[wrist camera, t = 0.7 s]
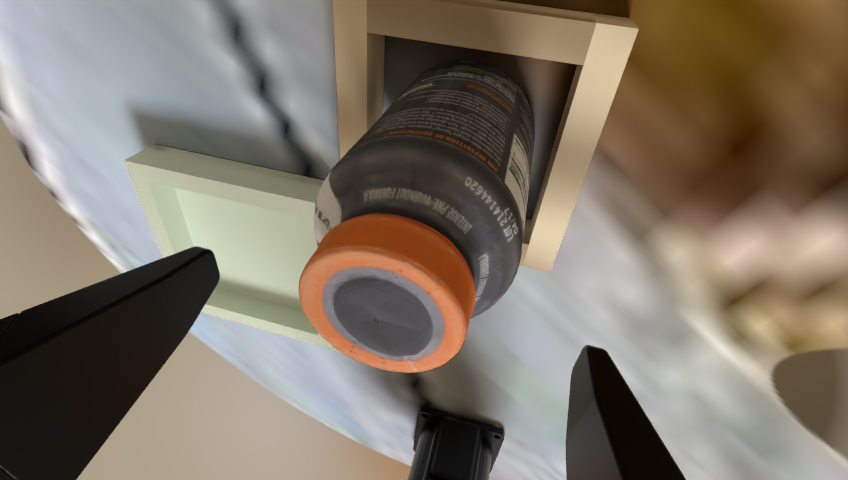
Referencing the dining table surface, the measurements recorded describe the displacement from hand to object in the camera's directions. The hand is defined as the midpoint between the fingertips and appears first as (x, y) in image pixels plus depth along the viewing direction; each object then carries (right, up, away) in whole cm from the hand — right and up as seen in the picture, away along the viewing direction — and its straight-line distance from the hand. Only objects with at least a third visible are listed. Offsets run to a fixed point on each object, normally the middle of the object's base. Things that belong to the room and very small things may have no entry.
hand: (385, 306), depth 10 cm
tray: (-9, +1, +16) cm, 18 cm away
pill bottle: (+3, +6, +8) cm, 11 cm away
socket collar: (+3, +6, +8) cm, 11 cm away
